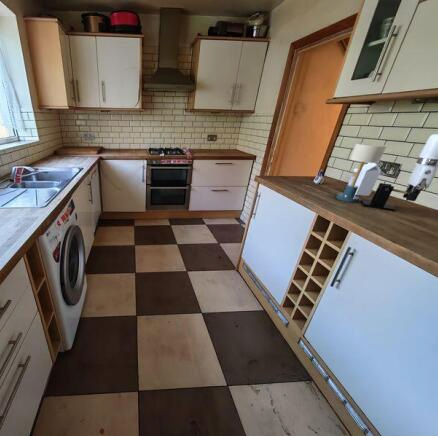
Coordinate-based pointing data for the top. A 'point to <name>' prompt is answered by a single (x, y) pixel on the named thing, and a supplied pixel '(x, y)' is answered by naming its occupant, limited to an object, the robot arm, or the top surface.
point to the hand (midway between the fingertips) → (408, 198)
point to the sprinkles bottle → (353, 176)
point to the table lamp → (362, 154)
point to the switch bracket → (380, 198)
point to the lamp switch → (402, 191)
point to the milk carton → (367, 179)
